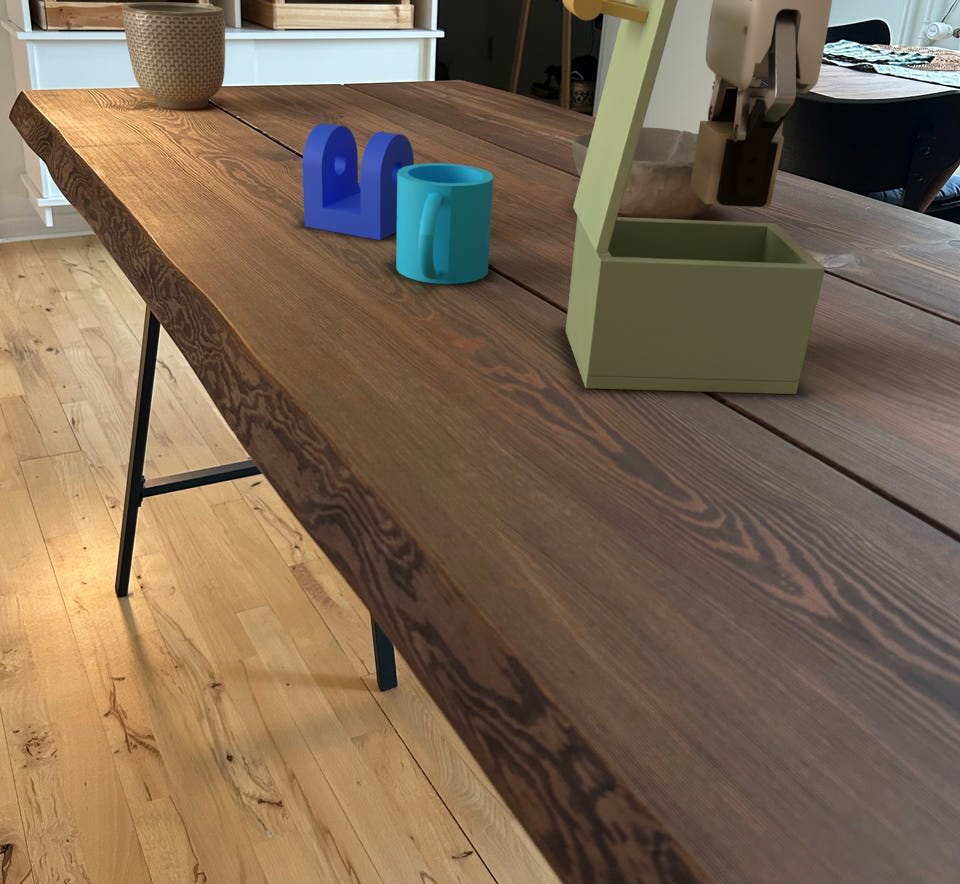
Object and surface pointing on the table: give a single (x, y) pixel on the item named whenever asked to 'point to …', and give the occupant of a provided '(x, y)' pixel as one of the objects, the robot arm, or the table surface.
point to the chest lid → (619, 107)
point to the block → (717, 160)
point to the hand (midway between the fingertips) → (730, 192)
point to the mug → (443, 222)
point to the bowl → (656, 175)
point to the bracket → (352, 181)
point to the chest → (692, 307)
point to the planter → (176, 51)
